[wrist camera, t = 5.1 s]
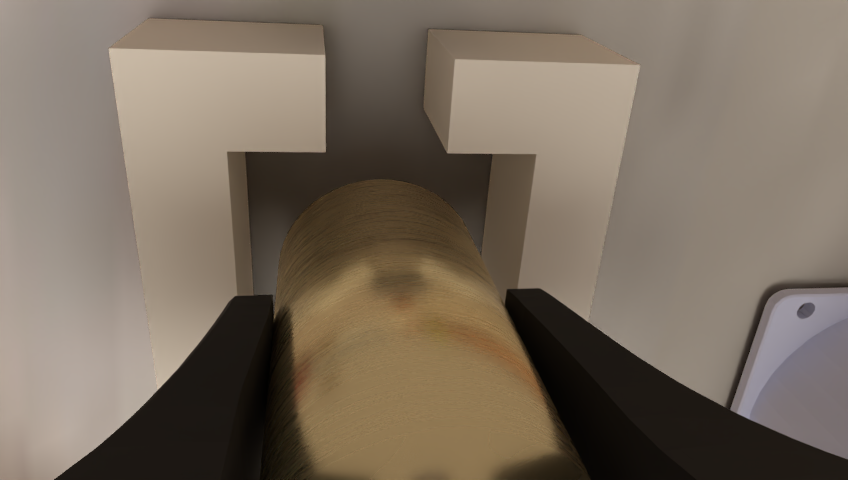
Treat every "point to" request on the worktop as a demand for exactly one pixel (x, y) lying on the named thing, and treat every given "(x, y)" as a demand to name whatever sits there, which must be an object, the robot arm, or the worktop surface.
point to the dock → (306, 132)
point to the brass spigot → (400, 352)
